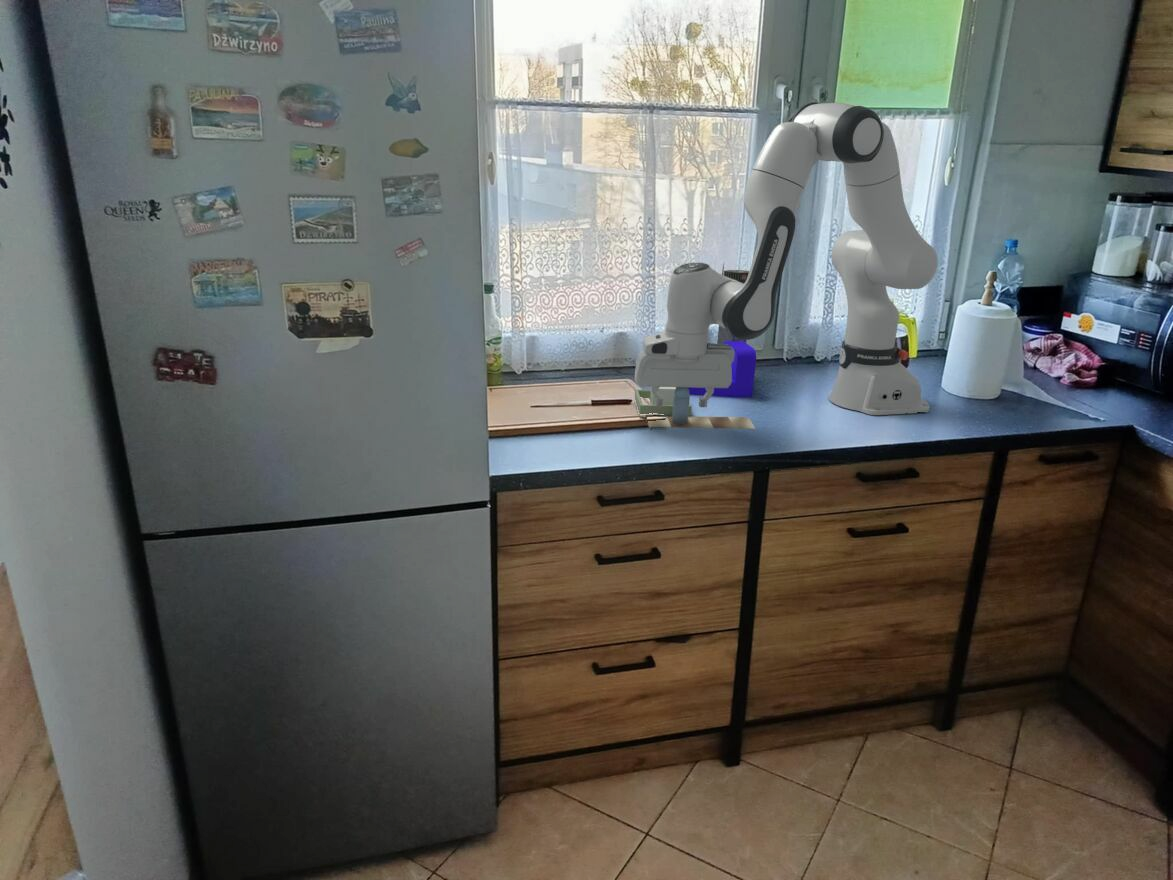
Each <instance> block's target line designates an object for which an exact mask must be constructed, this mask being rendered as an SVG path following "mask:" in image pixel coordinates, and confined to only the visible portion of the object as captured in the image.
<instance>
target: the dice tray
mask: <svg viewBox="0 0 1173 880" xmlns="http://www.w3.org/2000/svg"><path fill="white" fill-rule="evenodd" d="M650 393H651V389H634V397H635V400H636V404H637V407H638V410H639V413H640V414H649V413H652V414H653V413H658V414H664V415H666V416H672V411H673V405H663V406H662V407H659V406H658V407H657V406H655V405H643V404H642V401H641V398H640V397H643V398H649V399H650ZM688 416H692V404H691V402H690V401H689V412H688Z"/></svg>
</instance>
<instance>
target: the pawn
mask: <svg viewBox="0 0 1173 880" xmlns="http://www.w3.org/2000/svg"><path fill="white" fill-rule="evenodd" d="M690 395H691V394H690V392H689V389H688V388H687V387H677V388H676V389H675V392H674V397H673V411H672V422H673V423H675V424H687V423H688V412H689V402H690Z"/></svg>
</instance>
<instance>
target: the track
mask: <svg viewBox="0 0 1173 880" xmlns="http://www.w3.org/2000/svg"><path fill="white" fill-rule="evenodd" d="M647 425H648V428H649V430H652V428H678V429H679V428H683V429H684V428H685V429H689V428H693V429H744V430H745V429H747V430H750V429H751V430H756V427H755V425H754V424H753V422H752V420H751V419H750V418H749V417H748V416H746V417H745V416H692V415H691V416H688V423H687V424H675V423H673V422H672V416H666V419H665V420H656V421H648V423H647Z"/></svg>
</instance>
